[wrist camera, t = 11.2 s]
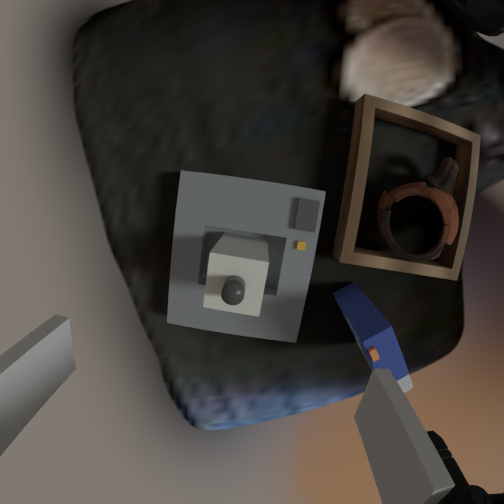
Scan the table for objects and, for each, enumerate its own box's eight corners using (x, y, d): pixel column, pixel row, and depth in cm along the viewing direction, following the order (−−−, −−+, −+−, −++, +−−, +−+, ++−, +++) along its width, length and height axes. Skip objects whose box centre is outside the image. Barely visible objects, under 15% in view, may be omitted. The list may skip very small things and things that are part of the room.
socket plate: (320, 190, 32) (327, 191, 28) (293, 330, 35) (296, 345, 32) (188, 171, 32) (179, 170, 28) (174, 311, 35) (165, 324, 32)
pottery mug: (436, 260, 34) (436, 285, 27) (371, 226, 37) (356, 243, 31) (475, 172, 28) (488, 175, 21) (406, 137, 32) (400, 131, 25)
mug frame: (464, 138, 30) (480, 135, 26) (442, 272, 33) (456, 280, 30) (355, 101, 30) (365, 93, 26) (331, 254, 33) (339, 262, 30)
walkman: (332, 293, 34) (362, 344, 23) (353, 281, 34) (393, 327, 22) (357, 344, 36) (389, 405, 24) (376, 333, 35) (415, 390, 24)
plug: (267, 238, 33) (269, 269, 21) (260, 278, 34) (258, 327, 22) (225, 231, 33) (205, 258, 21) (219, 271, 34) (198, 317, 22)
